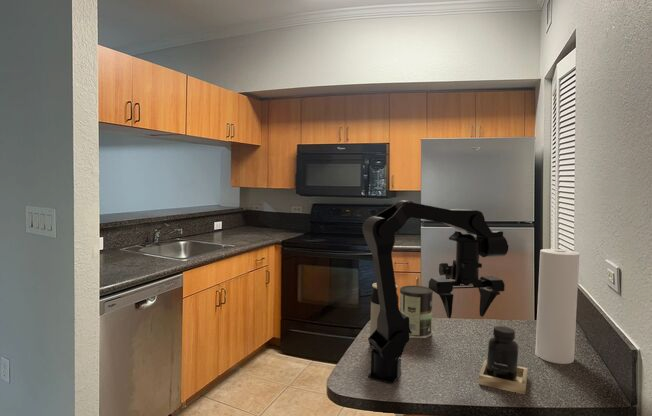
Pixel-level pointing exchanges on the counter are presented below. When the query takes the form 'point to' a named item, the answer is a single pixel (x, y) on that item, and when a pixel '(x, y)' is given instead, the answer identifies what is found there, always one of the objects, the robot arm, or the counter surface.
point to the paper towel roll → (557, 305)
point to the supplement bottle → (502, 354)
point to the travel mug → (375, 308)
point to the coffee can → (417, 309)
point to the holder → (504, 384)
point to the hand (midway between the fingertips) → (465, 317)
